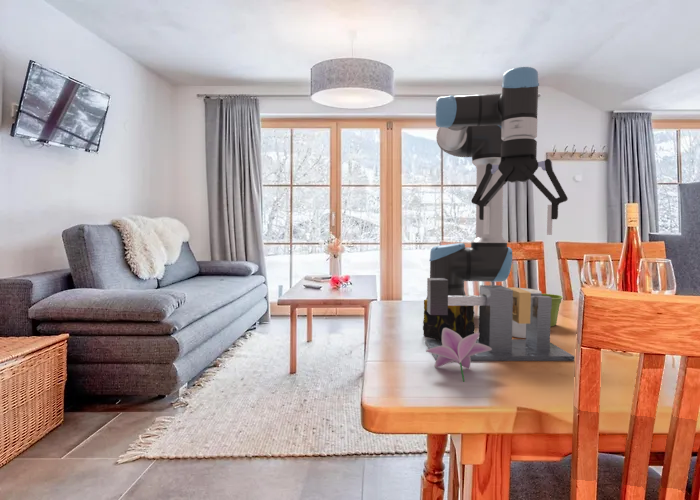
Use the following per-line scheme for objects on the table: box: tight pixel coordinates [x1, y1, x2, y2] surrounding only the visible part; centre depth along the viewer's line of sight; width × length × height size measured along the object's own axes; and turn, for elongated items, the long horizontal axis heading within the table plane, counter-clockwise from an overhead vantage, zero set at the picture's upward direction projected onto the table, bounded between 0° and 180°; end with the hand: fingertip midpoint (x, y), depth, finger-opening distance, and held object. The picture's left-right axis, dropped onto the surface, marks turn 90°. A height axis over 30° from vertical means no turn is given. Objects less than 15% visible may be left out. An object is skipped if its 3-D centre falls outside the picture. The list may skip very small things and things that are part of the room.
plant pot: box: [542, 293, 564, 327], centre depth 127 cm, size 9×9×9 cm
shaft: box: [426, 277, 535, 315], centre depth 98 cm, size 4×26×8 cm, turn 90°
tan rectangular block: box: [506, 286, 531, 324], centre depth 98 cm, size 8×2×7 cm, turn 0°
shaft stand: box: [424, 284, 575, 362], centre depth 99 cm, size 14×30×15 cm, turn 90°
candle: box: [422, 299, 476, 339], centre depth 113 cm, size 10×10×10 cm
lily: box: [425, 328, 492, 382], centre depth 83 cm, size 12×12×10 cm
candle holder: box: [512, 287, 543, 339], centre depth 115 cm, size 10×10×12 cm
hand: (516, 234), depth 97 cm, fingers open, 13 cm apart
